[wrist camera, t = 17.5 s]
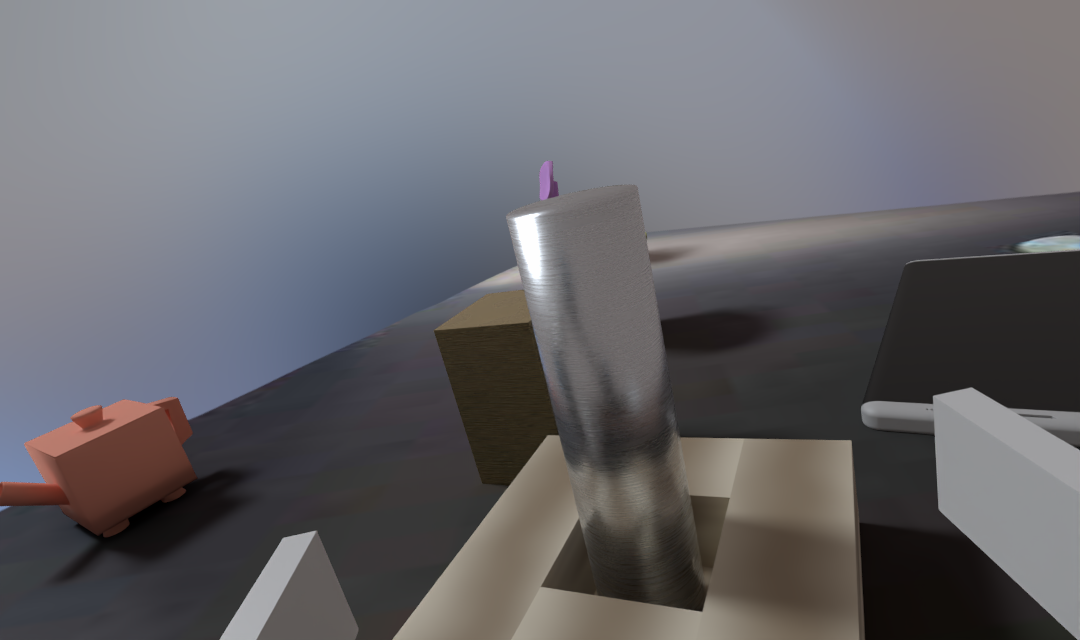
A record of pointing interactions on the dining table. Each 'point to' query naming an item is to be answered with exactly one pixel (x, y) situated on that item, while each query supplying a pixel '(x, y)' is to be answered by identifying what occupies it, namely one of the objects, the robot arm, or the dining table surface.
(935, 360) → the smartphone
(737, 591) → the socket block
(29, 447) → the pink cube teapot
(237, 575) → the dining table surface
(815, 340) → the dining table surface
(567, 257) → the cylinder
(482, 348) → the square bar
